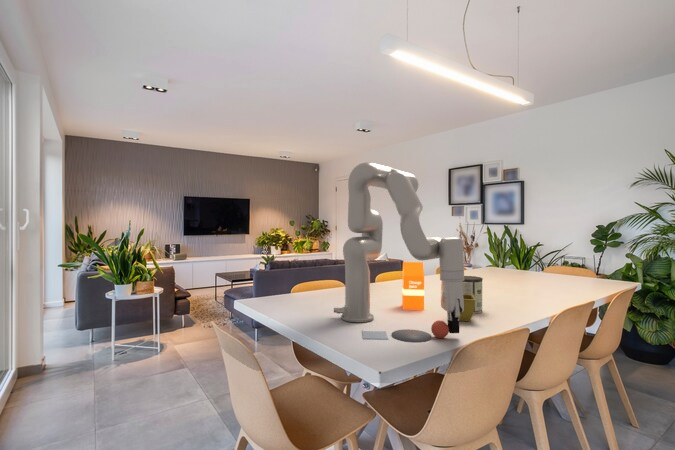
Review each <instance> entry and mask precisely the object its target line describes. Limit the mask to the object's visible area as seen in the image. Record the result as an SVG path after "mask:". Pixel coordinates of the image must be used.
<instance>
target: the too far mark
mask: <svg viewBox="0 0 675 450" xmlns="http://www.w3.org/2000/svg"><path fill="white" fill-rule="evenodd" d="M361 333H362V339H363V340H389V336H388V334H387V332H386V330H381V331H380V330H378V331H376V330H375V331H374V330H372V331H371V330H369V331H368V330H362V331H361Z"/></svg>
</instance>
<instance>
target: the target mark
mask: <svg viewBox="0 0 675 450" xmlns="http://www.w3.org/2000/svg"><path fill="white" fill-rule="evenodd" d="M390 336H391V337H392V338H393V339H395V340H398V341H402V342H408V343H425V342H428V341H430V340H432V339H433V338H432V337H433V336H432V335H431V334H430V333H428V332H426V331H423V330H418V329H408V328H407V329H397V330H393V331H392V332H391V335H390Z"/></svg>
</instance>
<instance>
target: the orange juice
mask: <svg viewBox="0 0 675 450" xmlns="http://www.w3.org/2000/svg"><path fill="white" fill-rule="evenodd" d="M424 270H425V269H424V262H422V261H403V262H402V274H401V275H402V277H401V278H402V280H401V281H402V287H401V293H402V295H401V299H402V300H401V301H402V303H401V306H402V308H403V309H402V310H415V311H416V310H419V311H421V310H422V311H423V310H425V275H424V274H425V273H424V272H425V271H424Z"/></svg>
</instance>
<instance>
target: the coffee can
mask: <svg viewBox="0 0 675 450" xmlns="http://www.w3.org/2000/svg"><path fill="white" fill-rule="evenodd" d="M483 279H484V278H483V277H481V276H474V275H473V276H472V275H464V281H462V287H463V295H472V296H473V297H474V298H475V307H474V313H473V314H480V313H483Z"/></svg>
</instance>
